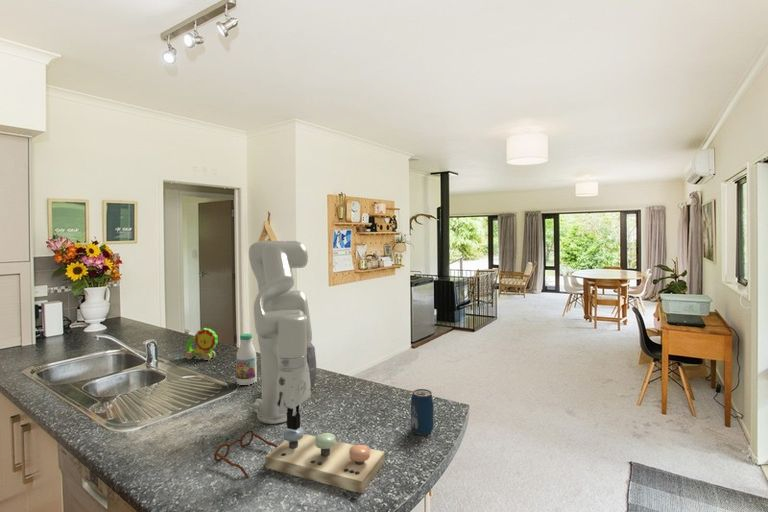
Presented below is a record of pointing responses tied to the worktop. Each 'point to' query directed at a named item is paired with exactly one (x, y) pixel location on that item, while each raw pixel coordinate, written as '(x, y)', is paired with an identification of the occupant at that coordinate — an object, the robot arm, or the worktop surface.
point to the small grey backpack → (311, 363)
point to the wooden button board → (325, 463)
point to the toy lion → (202, 344)
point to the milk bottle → (246, 361)
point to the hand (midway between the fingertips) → (293, 427)
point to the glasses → (241, 446)
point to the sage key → (325, 440)
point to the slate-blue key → (293, 434)
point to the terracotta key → (359, 453)
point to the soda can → (422, 411)
